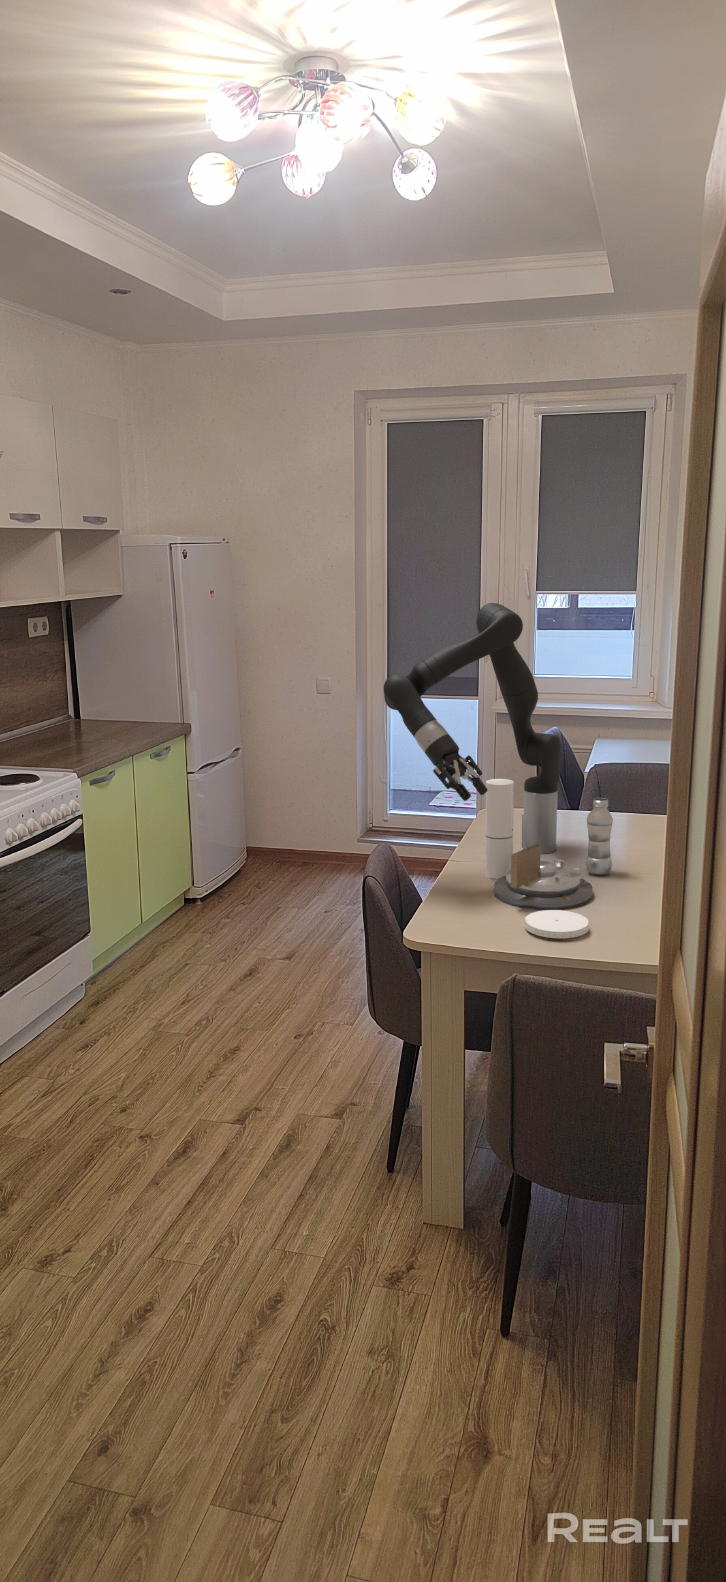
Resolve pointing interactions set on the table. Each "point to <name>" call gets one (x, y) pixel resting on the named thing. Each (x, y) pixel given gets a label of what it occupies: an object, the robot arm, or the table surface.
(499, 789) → the cylindrical container
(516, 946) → the table surface
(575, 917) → the plastic lid
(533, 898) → the base plate
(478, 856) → the table surface
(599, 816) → the plastic bottle
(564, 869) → the round mechanism with board
